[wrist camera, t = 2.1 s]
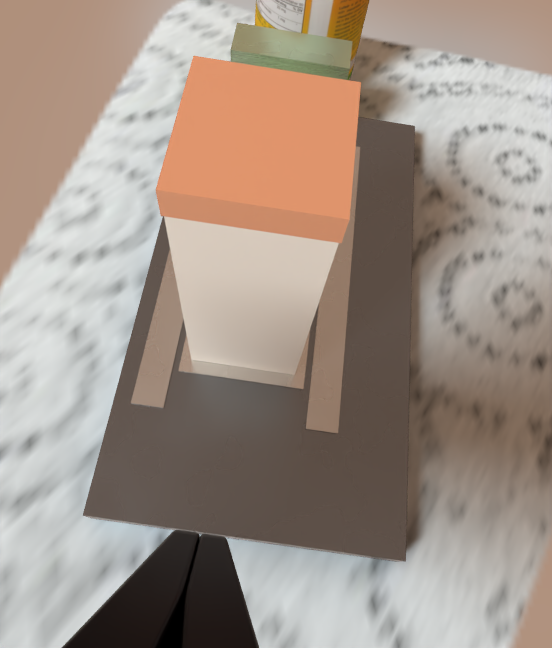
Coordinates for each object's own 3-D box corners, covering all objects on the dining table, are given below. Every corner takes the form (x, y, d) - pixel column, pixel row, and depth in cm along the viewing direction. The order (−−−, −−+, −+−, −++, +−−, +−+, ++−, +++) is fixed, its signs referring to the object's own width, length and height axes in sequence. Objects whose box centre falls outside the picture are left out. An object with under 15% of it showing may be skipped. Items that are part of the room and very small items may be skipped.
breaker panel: (395, 561, 19) (450, 559, 14) (91, 518, 19) (44, 502, 14) (407, 143, 27) (443, 55, 23) (197, 110, 27) (190, 15, 22)
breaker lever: (295, 376, 20) (349, 219, 11) (189, 360, 20) (155, 189, 11) (306, 284, 22) (360, 82, 13) (209, 269, 22) (193, 55, 13)
